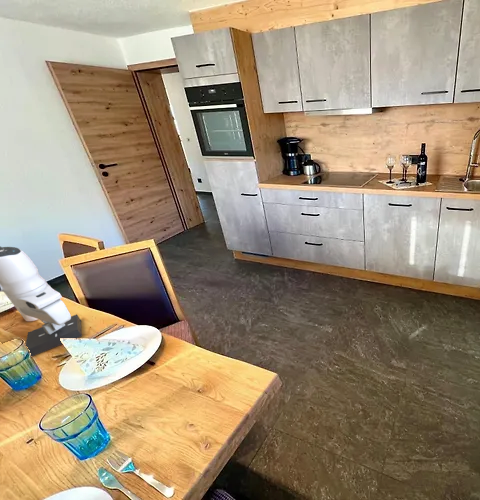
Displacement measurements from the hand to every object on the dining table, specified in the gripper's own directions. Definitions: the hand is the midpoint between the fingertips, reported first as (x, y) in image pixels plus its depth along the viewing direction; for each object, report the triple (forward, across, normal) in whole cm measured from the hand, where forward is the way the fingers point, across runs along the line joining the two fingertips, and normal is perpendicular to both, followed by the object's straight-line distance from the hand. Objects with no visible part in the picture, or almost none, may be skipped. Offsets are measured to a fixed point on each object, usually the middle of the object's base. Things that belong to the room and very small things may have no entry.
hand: (55, 327), depth 98 cm
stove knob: (+1, 0, 0) cm, 1 cm away
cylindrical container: (+4, -23, +5) cm, 23 cm away
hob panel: (+4, 0, -1) cm, 4 cm away
